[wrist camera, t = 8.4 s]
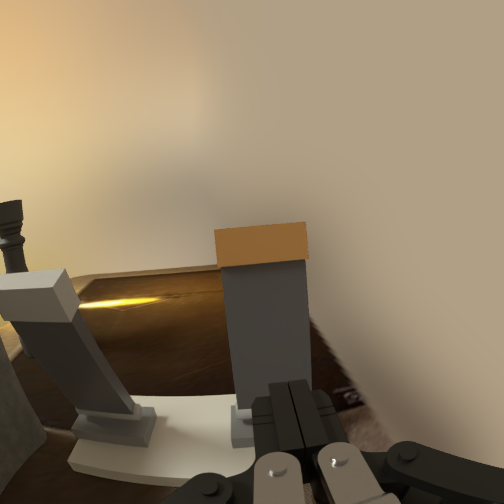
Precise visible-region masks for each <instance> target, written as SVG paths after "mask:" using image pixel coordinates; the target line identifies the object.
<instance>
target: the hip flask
mask: <svg viewBox="0 0 504 504" xmlns="http://www.w3.org/2000/svg"><path fill="white" fill-rule="evenodd" d="M46 440H47V433H46V431H45V430H44V428H43V426H42V424H41V423H40V421H39V419H38V418H37V416H36V414H35V412H34V410H33V408H32V407H31V405H30V403H29V401H28V399H27V397H26V395H25V393H24V391H23V389H22V387H21V385H20V383H19V381H18V378H17V376H16V374H15V372H14V370H13V367H12V365H11V362H10V360H9V358H8V355H7V353H6V350H5V348H4V345H3V342H2V339H1V337H0V495H1V494H2V492H3V490H4V489H5V487H6V486H7V484H8V483H9V481H10V480H11V479H12V477H13V476H14V475H15V473H16V472H17V471H18V469H19V468H20V467H21V466H22V465H23V464H24V462H25V461H26V460H27V459H28V458H29V457H30V456H31V455H32V454H33V453H34V452H35V451H36V450H37V449H38V448H39V447H40V446H41V445H43V444H44V443H45V441H46Z"/></svg>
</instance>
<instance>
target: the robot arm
mask: <svg viewBox="0 0 504 504" xmlns="http://www.w3.org/2000/svg"><path fill="white" fill-rule="evenodd" d="M251 412H252V423H253V435H254V446H255V460H254V462H253V464H252V466H251V467H250V468H249V469H247V470H246V471H244V472H242V473H240V474H237V475H234V476H230V477H227V478H226V477H225V476H223V475H221V474H218V473H212V472H207V473H201V474H198V475H196V476H194V477H192V478H191V479H190V480H188V481H187V482H186V483H185V484H183V485H182V486H181V487H180V488H178V489H177V490H176V491H175V492H173V493H172V494H171V495H169V496H168V497H167V498H165V499H164V500H163V501H161V502H160V503H159V504H305V499H304V490H303V484H306V483H310V484H311V488H312V495H311V499H312V503H313V504H504V469H503V468H498V467H494V466H490V465H486V464H482V463H478V462H475V461H471V460H468V459H464V458H461V457H457V456H454V455H451V454H448V453H445V452H442V451H439V450H436V449H432V448H430V447H427V446H424V445H421V444H418V443H416V442H412V441H403V442H399V443H396V444H395V445H393V446H392V447H391V448H390V449H389V450H388V452H363V451H360V450H359V449H358V448H357V447H355V446H354V445H352V444H350V443H349V441H348V439H347V436H346V434H345V432H344V429H343V427H342V425H341V422H340V420H339V418H338V416H337V415H336V411H335V409H334V407H333V404H332V402H331V399H330V397H329V396H328V395H327V394H326V393H325V392H323V391H322V390H321V389H319V390H312V391H311V390H310V387H309V385H308V382H307V380H306V379H302V380H294V381H288V382H278V383H268V396H263V397H256V398H255V400H254V402H253V403H252V405H251Z"/></svg>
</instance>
